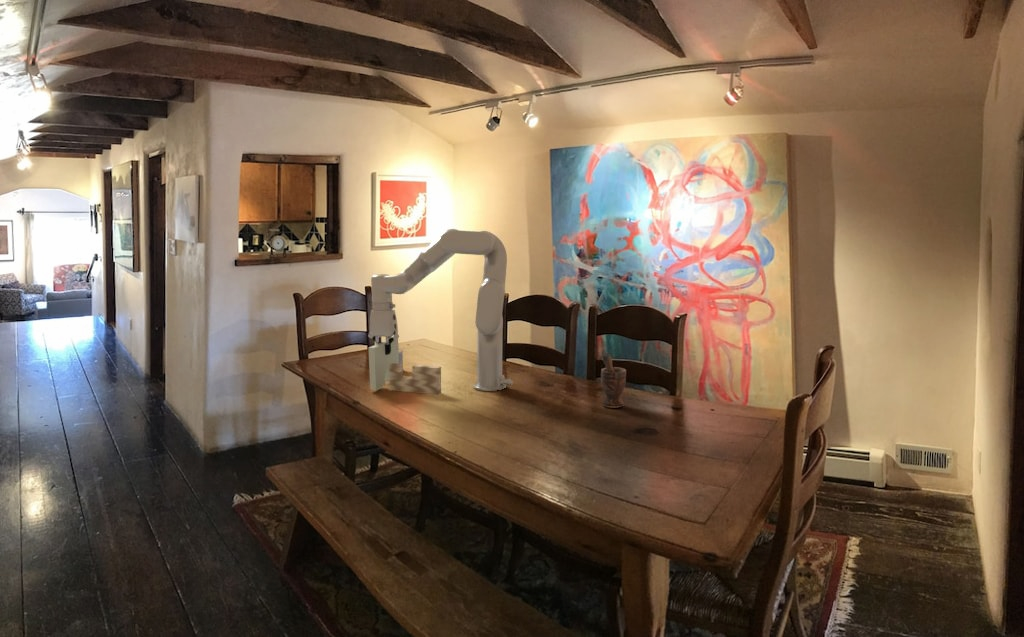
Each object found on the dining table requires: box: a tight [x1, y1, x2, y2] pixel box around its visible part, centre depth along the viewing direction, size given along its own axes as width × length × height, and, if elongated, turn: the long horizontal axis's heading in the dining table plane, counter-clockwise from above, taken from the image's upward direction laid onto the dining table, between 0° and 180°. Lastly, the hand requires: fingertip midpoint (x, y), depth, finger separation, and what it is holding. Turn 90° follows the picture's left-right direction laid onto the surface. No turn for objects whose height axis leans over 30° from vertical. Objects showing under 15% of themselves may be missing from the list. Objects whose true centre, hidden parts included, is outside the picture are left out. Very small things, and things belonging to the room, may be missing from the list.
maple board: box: [389, 363, 442, 395], centre depth 250 cm, size 20×2×10 cm, turn 74°
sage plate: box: [368, 338, 400, 391], centre depth 257 cm, size 20×2×16 cm, turn 164°
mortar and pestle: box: [600, 353, 627, 406], centre depth 230 cm, size 12×9×20 cm
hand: (384, 353), depth 257 cm, fingers closed on sage plate, 2 cm apart
